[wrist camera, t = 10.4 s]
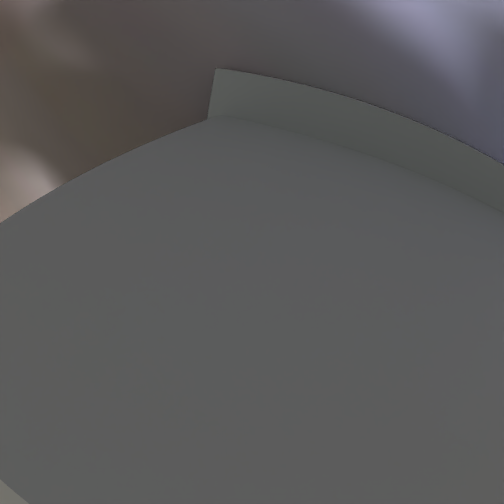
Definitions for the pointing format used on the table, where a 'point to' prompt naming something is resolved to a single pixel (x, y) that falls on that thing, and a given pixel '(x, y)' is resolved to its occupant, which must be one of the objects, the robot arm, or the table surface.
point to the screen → (260, 314)
